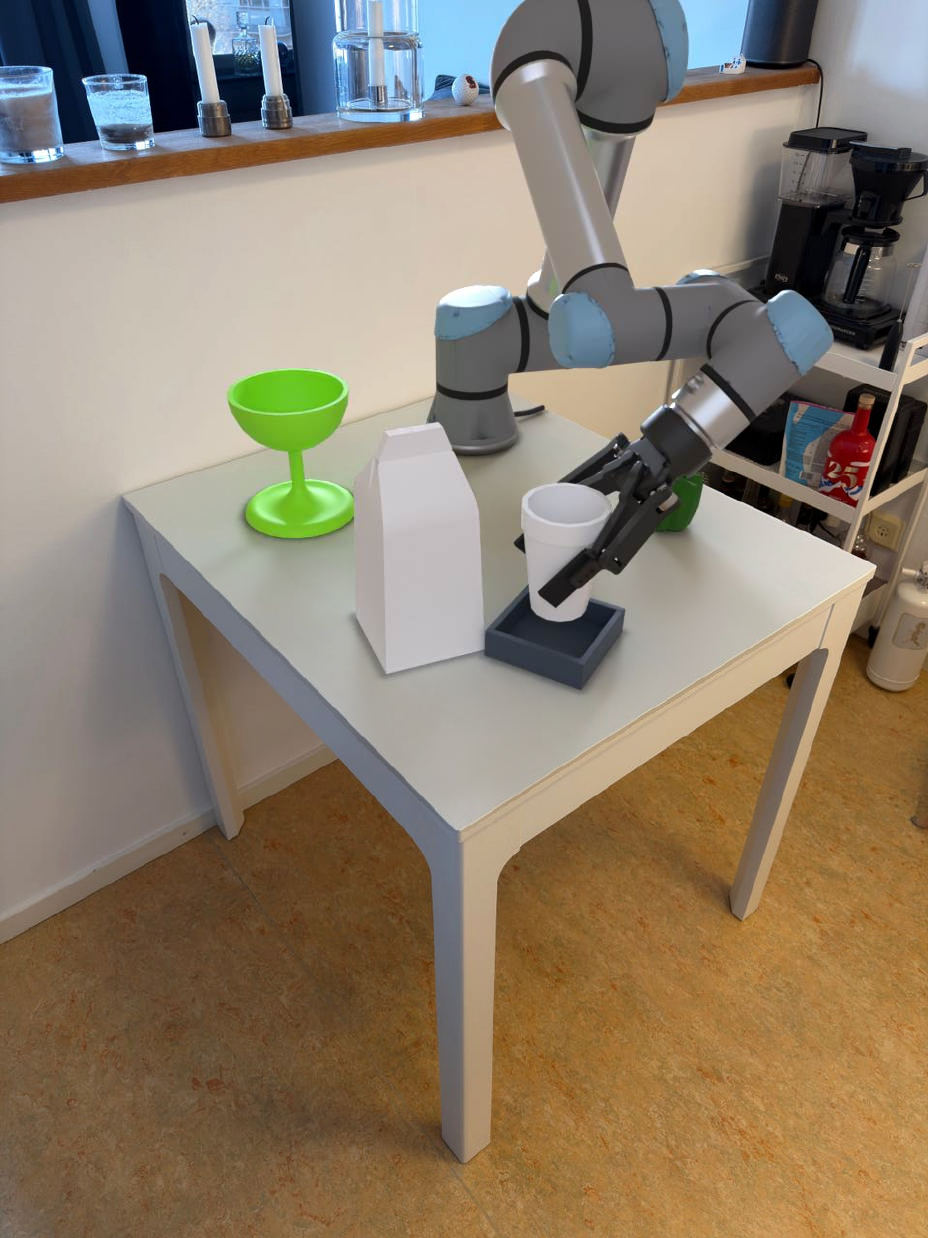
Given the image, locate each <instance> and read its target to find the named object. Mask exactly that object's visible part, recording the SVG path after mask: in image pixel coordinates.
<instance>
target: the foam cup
mask: <svg viewBox="0 0 928 1238" xmlns="http://www.w3.org/2000/svg"><path fill="white" fill-rule="evenodd" d="M612 513H613V508H612V503H611V499H609V498H608V497H607V496H605V495H604V494H602V493H601V492H600V491H598V490H595V489H592V488H590V487H587V486H585V485H578V484H571V483H557V482H556V483H544V484H542V485H540V486H537V487H533V488H531V489H529V491H527V493H526V494H525V495H524V496H523V497H522V498H521V517H520V518H521V520H520V523H521V525H520V526H521V529H522V530H523V532H524V540H525V551H526V554H525V560H526V572H527V581H528V582H527V583H528V584H529V593H530V603H531V608H532V610H533V611H534V612H535V613H536V615H538V616H540V617H542V618H544V619H546V620H551V621H557V622H563V621H572V620H574V619H576V618H578V617H581V616H582V615H583V613H584V612H585V611H586V606H587V605H588V601H589V598H591V594H592V591H593V586H594V582H595V579H596V575H595V576H594V577H593V578H592V579H591V580H589V582H587V583H586V584H585V585H584V586H583V587H582V588H580V589H577V590H575V591H574V592H573V593H572V594H571V595H570V596H569V597H568V598H567V599H566V600H564V601H563V602H562V603H561V604H560V605H559V606H558V607H557V608H555V607H553V606H552V605H551V604H550V603H548V602H547V601H546V600H544V599H543V598H542V597H541V596H539V594H538V591H539V590H540V589H541V588H542V587H543V586H544V585H545V584H546V583H547V582H548V581H549V580H551V579H552V578H553V577H554V576H555V575H556V574H557V573H558V572H559V571H560V570H561V569H562V568H564V567H565V566H566V565H567V564H568V563H569V562H570V561H571V560H572V559H573V558H574V557H575V556H577V555H578V554H579V553H580V552H581V551H582V550H584V548H588V549H591V548H592V546H593V544H594V543H595V541H596V539H597V538H598V536H599V534H600V533H601V531H602V529H603V528H604V526H605V524H606V523H607V521H608V519H609V518H610V516H611V514H612Z"/></svg>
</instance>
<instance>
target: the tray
mask: <svg viewBox="0 0 928 1238" xmlns="http://www.w3.org/2000/svg"><path fill="white" fill-rule="evenodd" d="M625 614H626V608H624V607H621V606H618V605H615V604H612V603H608V602H606V601H602V600H600V599H596V598H593V597H590V598H589V601H588V605H587V606H586V611H585V612H584V613H583V615H582V616H581V617H578V618H576V619H574V620H572V621H563V622H557V621H551V620H546V619H544V618H542V617H540V616H538V615H536V613H535V612H534V611H533V610H532V608H531V603H530V593H529V583H528V584H527V585H526V586H525V587H524V588H523V589H522V590H521V591H520V592H519V593H518V595H517V596H516V597H514V599H513V600H512V601H511V602H510V603H509V604H508V606H507V607H505V608H504V610H503V611H502V612H501V613H500V614H499V615H498V616H497V618H495V619H494V621H492V623H491V624H490V625H489V626H488V627H487V628H486V629H485V630H484V639H485V650H484V656H486V657H489V658H491V659H494V660H497V661H500V662H503V663H506V664H508V665H511V666H514V667H516V668H519V669H521V670H525V671H528V672H531V673H533V674H536V675H538V676H542V677H543V678H547V679H550V680H553V681H555V682H557V683H560V684H564V685H566V686H569V687H571V688H573V689H574V688H575V689H577V690H579V691H581V690H582V689H583V688H584V686H585V685H586V684H587V682H588V681H589V680H590V678H591V677H592V676H593V674H594V672H595V671H596V670H597V669H598V667H599V665H600V664H601V663H602V661H603V660H604V658H605V657H606V656H607V654H608V653H609V652H610V650H611V649H612V647H614V645H615V643H616V642H617V640H618V639H619V637H620V636H621V635H622V633H623V630H624V621H625Z"/></svg>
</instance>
